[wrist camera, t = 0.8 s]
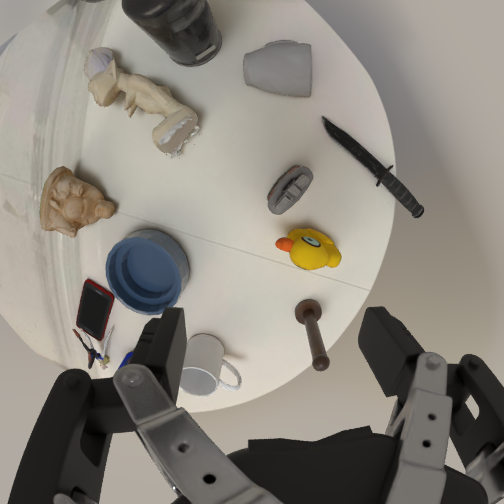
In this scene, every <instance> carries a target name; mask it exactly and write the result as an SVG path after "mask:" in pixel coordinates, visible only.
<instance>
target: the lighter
mask: <svg viewBox="0 0 504 504" xmlns="http://www.w3.org/2000/svg"><path fill="white" fill-rule="evenodd" d="M312 180H313V173H312V171H311V170H310V169H309V168H307V167H304V166H302V167H301V166H298V165H295V166H293V167H291V168H290V169H289V170H287V171H286V172H285V173H284V174H283V175H282V176H281V177H280V178H279V179H278V180H277V181H276V183H275V184H274V185H273V187H272V188H271V190H270V192H269V193H268V196H267V200H268V208H269V210H270V211H271V212H272V213H273V214H276V215H280V214H282V213H284V212H285V211H286V210H288V209H289V208H290V207H292V206H293V205H294V204H295V203H296V202H297V201H298V200H299V199H300V198H301V196H302V195H303V194H304V193H305V191H306V190H307V188H308V187H309V185H310V183H311V182H312Z"/></svg>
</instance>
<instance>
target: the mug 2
mask: <svg viewBox="0 0 504 504" xmlns="http://www.w3.org/2000/svg"><path fill="white" fill-rule="evenodd" d="M243 72H244V79H245V83H246V85H249V86H253V87H256V88H258V89H261V90H264V91H267V92H271V93H276V94H281V95H288V96H299V97H310V96H311V86H312V52H311V45H310V44H305V43H297V42H295V41H291V40H280V41H275V42H271V43H268V44H267V45H266V46H265V47H264V48H261V49H258V50H256V51H253V52H251V53H247V54H245V56H244V61H243Z"/></svg>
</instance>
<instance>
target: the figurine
mask: <svg viewBox="0 0 504 504" xmlns="http://www.w3.org/2000/svg"><path fill="white" fill-rule="evenodd" d="M72 330H73V331H74V333H75V334H76V336H77V337H78V338H79V339H80V341H81V342H82V344H83V346H84V348H85V349H86V350H87V352H88V354H89V355H88V360H89V364H88V368H89V369H91V368H92V365H93V362H94V359H95V358H96V359H97V360H99V362H100V364H101V365H100V366H101V368H103V369H106V368H108V367H107V366H105V365H106V364H107V363H108V362H109V360H108V358H107V356H106V357H105V356H104V355H105V349H106V344H107V340H108V338H109V336H110V334H111V332H112V330H110V332H109V334H108V336H107V338H106V340H105V344H104V349H103V354H102V355H100V353H97V352H96V350H94V347H93V345H92V343H91V340H90V338H89V337H88V336H87V335H86V333H85V332H84V331H83V329H82V328H81V331H82V332H83V333H84V335H85V336H86V337H87V339H88V340H89V343H90V345H91V347H92V349H89V348H88V347H87V345H86V344H85V343H84V342H83V340H82V338H81V337H80V334H79V333H78V332H77V331H76V330H75V329H72ZM101 356H102V357H101ZM106 358H107V359H106Z"/></svg>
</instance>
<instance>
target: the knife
mask: <svg viewBox="0 0 504 504" xmlns="http://www.w3.org/2000/svg"><path fill="white" fill-rule="evenodd" d="M322 119H323V123H324V126H325V129H326V131H327V132H328V134H329V135H330V137H331V138H332V139H333V140H334V141H335V142H337V143H338V144H339V145H340V146H341V147H343V148H344V149H345V150H346V151H347V152H349V153H350V154H351V155H352V156H353V157H354V158H355V159H357V160H358V161H359V162H360V163H361V164H362V165H363V166H364V167H365V168H367V169H368V170H369V171H370V172H371V173H372V174H373V175H374V176H375V177H376V178H377V179H378V182H377V184H376V186H377V187H378V186H379V185H380V183H381V182H382V183H383V184H384V185H385V187H386V188H387V189H388V190H389V191H390V192H391V193H392V194H393V195H394V197H395V198H396V199H398V201H399V202H400V203H401V204H402V205H403V206H404V207H405V208H407V209H408V210H409V211H410V212H411V213H412V216H413V217H414V218H419V217H421V215H422V214H423V213H424V207H423V206H422V205H419V203H418V202H417V200H416V199H415V198H414V196H413V195H412V194H411V193H410V192H409V190H408V189H407V188H406V187H405V186H404V185H403V184H402V183H401V182H400V181H399V180H398V179H397V178H396V177H395V176H394V175H393V174H392V173H390V172H389V170H390V169H391V168H392V167H393V165H392V166H390V167H389V168H388V169H386V168H385V167H384V166H383V165H382V164H381V163H380V162H379V161H378V160H377V159H376V158H375V157H374V156H373V155H371V154H370V153H369V152H368V151H367V150H366V149H365V148H364V147H363V146H361V145H360V144H359V143H358V142H357V141H356V140H355V139H353V138H352V137H351V136H350V135H348V134H347V133H346V132H345V131H343V130H341V129H340V128H338V127H337V126H335V125H334V124H332V123H331V122H330V121H328V120H327V119H326V118H325V117H323V116H322Z"/></svg>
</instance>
